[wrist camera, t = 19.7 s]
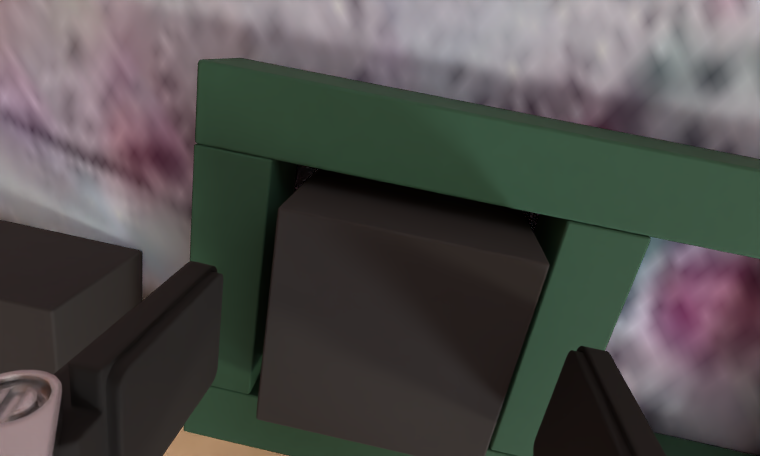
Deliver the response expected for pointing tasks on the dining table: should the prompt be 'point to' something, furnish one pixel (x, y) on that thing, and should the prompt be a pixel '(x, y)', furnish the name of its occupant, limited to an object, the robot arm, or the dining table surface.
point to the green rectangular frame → (455, 178)
